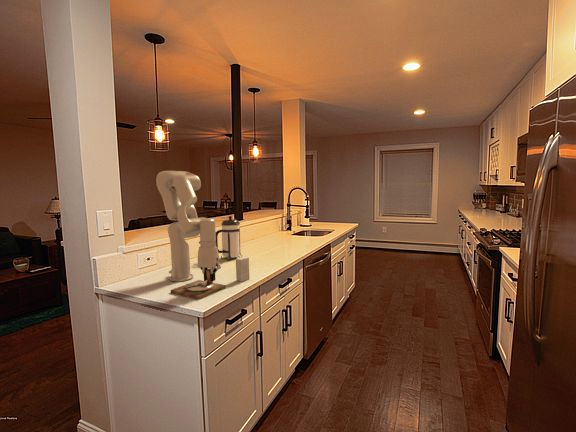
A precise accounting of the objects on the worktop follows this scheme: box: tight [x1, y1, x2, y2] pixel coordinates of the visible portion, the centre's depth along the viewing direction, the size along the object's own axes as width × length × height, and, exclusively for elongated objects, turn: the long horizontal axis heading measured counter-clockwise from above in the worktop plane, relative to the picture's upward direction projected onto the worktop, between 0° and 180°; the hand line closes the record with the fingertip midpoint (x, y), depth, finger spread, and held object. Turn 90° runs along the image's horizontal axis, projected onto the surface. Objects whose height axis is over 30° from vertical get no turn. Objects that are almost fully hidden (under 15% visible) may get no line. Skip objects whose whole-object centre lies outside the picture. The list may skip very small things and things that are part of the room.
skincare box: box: [235, 256, 250, 283], centre depth 169 cm, size 6×4×12 cm
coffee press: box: [216, 215, 243, 261], centre depth 219 cm, size 17×16×30 cm
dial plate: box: [170, 279, 227, 300], centre depth 153 cm, size 19×18×2 cm
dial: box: [183, 268, 215, 292], centre depth 152 cm, size 15×13×8 cm
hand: (209, 280), depth 156 cm, fingers closed on dial, 3 cm apart
